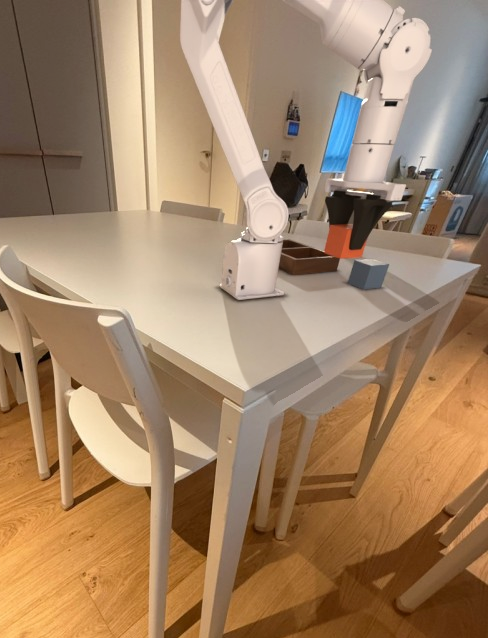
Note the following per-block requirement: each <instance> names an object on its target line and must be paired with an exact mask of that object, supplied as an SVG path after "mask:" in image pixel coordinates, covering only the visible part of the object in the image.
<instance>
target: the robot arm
mask: <svg viewBox="0 0 488 638" xmlns="http://www.w3.org/2000/svg"><path fill="white" fill-rule="evenodd" d="M281 1H282V2H283V3H284V4H287V5H288V6H290V7H292V8H293V9H294V10H296V11H298V12H299V13H301V14H303V15H304V16H306V17H307V18H309V19H311V20H312V21H313V22H315V23H317V24H318V26H319V30H320V37H321V45H323V46H325V47H327V48H328V49H329V50H330V51H332V52H333V53H335V54H336V55H337V56H339V57H340V58H341V59H343V60H345V61H346V62H347V63H349V64H350V65H351V66H353V67H354V68H356V69H357V70H358V71H360V72H361V71H363V76H364V80H365V83H366V87H365V91H364V95H363V98H362V102H361V105H360V109H359V113H358V117H357V121H356V125H355V129H354V133H353V138H352V141H351V145H350V149H349V152H348V153H349V154H348V158H347V162H346V166H345V169H344V174H343V178H326V181H325V184H324V189H323V193H332V194H331V195H326V196H325V197H324V202H325V206H326V210H327V215H328V230H329V229H330V225H339V224H348V222H349V220H350V217H351V215H352V213H353V211H354V221H353V228H352V232H351V237H350V242H349V249H350V250H359V249H362V247H363V245H364V243H365V241H366V240H367V241H368V238H369V236H370V234H371V233H372V231H373V230H374V228H375V227H376V226H377V224H378V222H380V220H381V219H382V218H383V216H384V215H385V214H386V213H387V212H388V210H390V208H391V207H392V205H393V202H394V201H399V202H400V201H402V199H403V196H404V193H405V190H406V187H407V184H405V183H395V182H387V181H384V180H385V177H386V175H387V170H388V167H389V164H390V160H391V157H392V153H393V151H394V147H395V145H396V142H397V138H398V135H399V132H400V128H401V124H402V121H403V118H404V116H405V112H406V108H407V105H408V100H409V97H410V95H411V92H412V91H411V90H412V88H413V84H414V80H415V78H416V77H417V76H418V75H419V74H420V73H421V72H422V70H423V69H424V68H425V66H426V65H427V63H428V61H429V59H430V58H431V55H432V52H433V49H432V48H431V34H430V33H429V32H430V28H429V26H428V24H427V23H426V22H425V21H424V20H423V19H421V18H418V17H412V18H406V19H404V15H405V13H406V10H405V9H404V8H403V7H402V6H401V5H399V6H397V7H396V8H394V7H393V6H392V5H390V4H389V3H387V2H386V1H385V0H281ZM233 2H234V0H180V21H179V23H180V24H179V43H180V47H181V51H182V52H183V56H184V58H185V61H186V63H187V65H188V68H189V70H190V73H191V75H192V78H193V80H194V83H195V85H196V87H197V89H198V93H199V95H200V97H201V99H202V102H203V105H204V107H205V109H206V112H207V115H208V117H209V119H210V121H211V124H212V127H213V129H214V131H215V134H216V136H217V139H218V141H219V144H220V147H221V148H222V151H223V153H224V156H225V158H226V162H227V164H228V166H229V168H230V171H231V173H232V176H233V178H234V181H235V183H236V186H237V188H238V190H239V193H240V195H241V198H242V200H243V203H244V213H243V214H244V220H245V223H246V226H247V227H246V228H244V230H243V232H241V233H240V237H239V238H238V239H236V240H231V241H229V242H227V243H226V245H225V248H224V252H223V260H222V273H221V274H222V275H221V283H219V287H220V288H221V289H222V290H223V291H225V292H226V293H227V294H229V295H230V296H232V297H233V298H234V299H236V300H238V301H241V300H251V299H260V298H261V299H262V298H269V297H278V296H279V297H280V296H284V295H285V291H283V290H281V289H279V288H278V287H277V286H276V285H277V279H278V273H279V262H280V256H281V250H282V245H283V240H284V239H285V237H284V235H282V233H283V232H284V231H285V229H286V227H287V225H288V221H289V217H290V216H289V209H288V205H287V203H286V202H285V201H284V200H283V199H282V198H281V197H280V196H279V195H278V194H277V193H276V191H275V190H274V186H273V185H272V182H271V180H270V177H269V176H268V175H269V174H268V173H267V170H266V169H265V167H264V164H263V161H262V158H261V155H260V153H259V150H258V147H257V144H256V142H255V139H254V135H253V134H252V131H251V128H250V125H249V123H248V119H247V117H246V114H245V111H244V108H243V106H242V103H241V101H240V98H239V95H238V91H237V90H236V86H235V83H234V81H233V78H232V76H231V72H230V70H229V67H228V64H227V62H226V59H225V57H224V53H223V50H222V48H221V45H220V43H219V41H220V37H221V34H222V31H223V27H224V23H225V19H226V14H227V13H228V11H229V9H230V8H231V6H232V4H233ZM355 188H359V189H366V192H372V193H366V192H357V191H353V189H355ZM361 196H364V197H366V199H361Z"/></svg>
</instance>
